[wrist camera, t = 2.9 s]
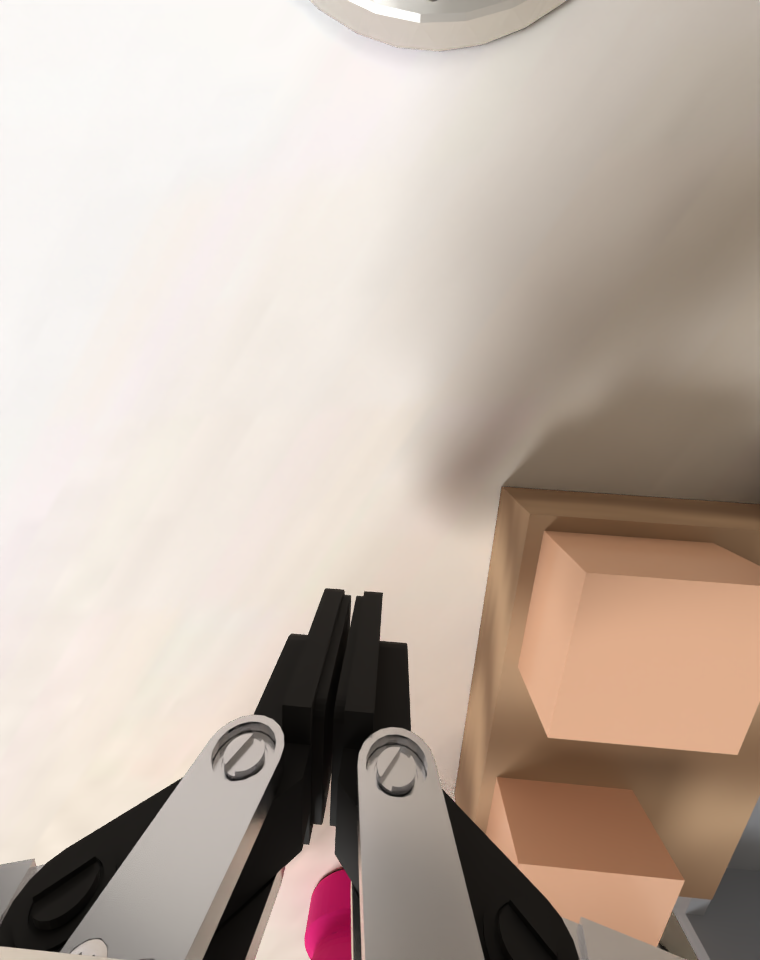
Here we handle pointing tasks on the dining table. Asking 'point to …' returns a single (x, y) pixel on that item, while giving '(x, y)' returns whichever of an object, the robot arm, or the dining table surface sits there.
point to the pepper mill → (330, 919)
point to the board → (646, 770)
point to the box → (729, 905)
